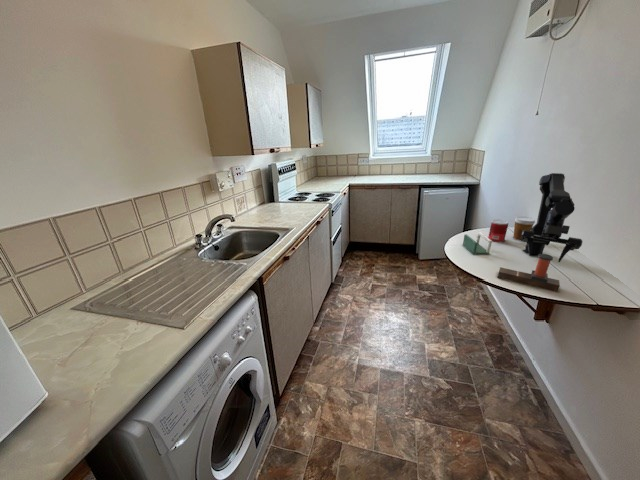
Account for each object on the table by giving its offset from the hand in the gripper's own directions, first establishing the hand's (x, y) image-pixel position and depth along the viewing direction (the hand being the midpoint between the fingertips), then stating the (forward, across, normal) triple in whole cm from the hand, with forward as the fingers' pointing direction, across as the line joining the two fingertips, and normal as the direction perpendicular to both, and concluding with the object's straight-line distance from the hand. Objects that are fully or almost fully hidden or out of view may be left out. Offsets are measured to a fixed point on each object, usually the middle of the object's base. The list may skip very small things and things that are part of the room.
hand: (544, 258), depth 107 cm
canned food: (-16, -21, +40) cm, 48 cm away
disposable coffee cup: (-21, -10, +48) cm, 53 cm away
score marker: (+8, 0, +2) cm, 8 cm away
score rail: (+10, -3, +4) cm, 12 cm away
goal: (-3, -27, +23) cm, 36 cm away
